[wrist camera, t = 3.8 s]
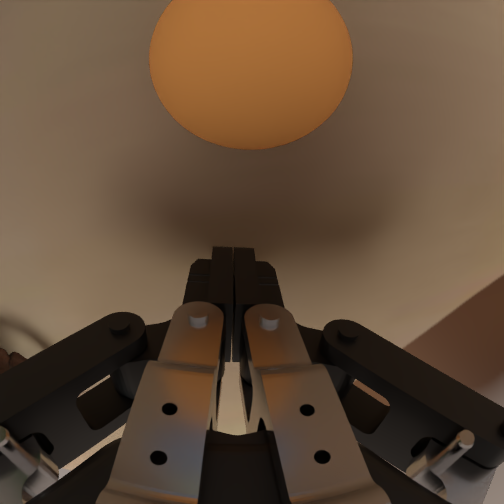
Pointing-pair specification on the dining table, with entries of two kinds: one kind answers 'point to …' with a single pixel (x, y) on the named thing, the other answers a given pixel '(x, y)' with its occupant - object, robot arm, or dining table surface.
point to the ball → (250, 68)
